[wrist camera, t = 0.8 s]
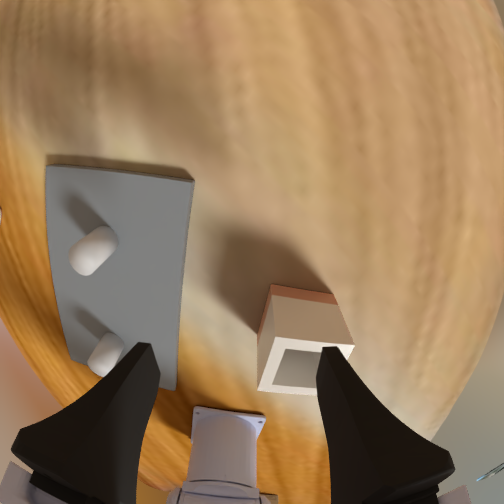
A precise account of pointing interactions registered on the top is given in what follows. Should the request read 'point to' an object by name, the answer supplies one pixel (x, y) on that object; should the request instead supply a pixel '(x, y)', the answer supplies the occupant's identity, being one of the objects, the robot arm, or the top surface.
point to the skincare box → (271, 498)
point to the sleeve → (297, 339)
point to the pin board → (118, 262)
